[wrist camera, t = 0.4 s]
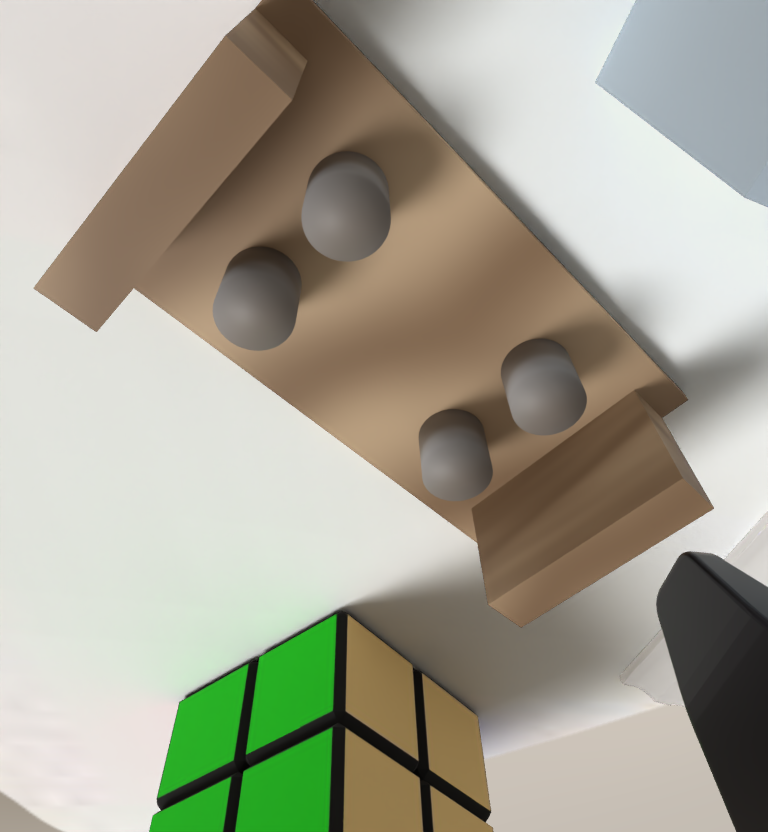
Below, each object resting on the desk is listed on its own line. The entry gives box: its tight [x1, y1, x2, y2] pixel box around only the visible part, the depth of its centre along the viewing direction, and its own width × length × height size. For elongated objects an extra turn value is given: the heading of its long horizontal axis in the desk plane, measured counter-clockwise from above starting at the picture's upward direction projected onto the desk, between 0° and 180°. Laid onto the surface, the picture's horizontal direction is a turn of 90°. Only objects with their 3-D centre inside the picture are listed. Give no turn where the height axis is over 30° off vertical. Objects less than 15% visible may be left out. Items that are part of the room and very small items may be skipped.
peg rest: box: [34, 0, 714, 627], centre depth 20 cm, size 17×9×5 cm, turn 46°
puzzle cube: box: [149, 612, 493, 832], centre depth 30 cm, size 10×10×10 cm
